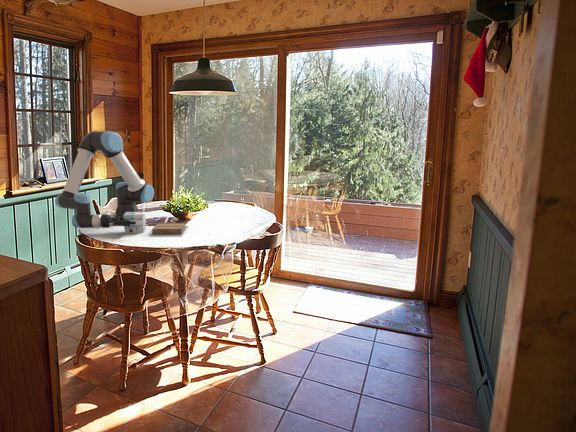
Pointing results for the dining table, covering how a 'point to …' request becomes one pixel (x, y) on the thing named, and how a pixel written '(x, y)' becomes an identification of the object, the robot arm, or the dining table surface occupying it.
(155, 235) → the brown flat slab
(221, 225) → the dining table surface
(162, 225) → the walnut plinth
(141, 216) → the light bulb box
